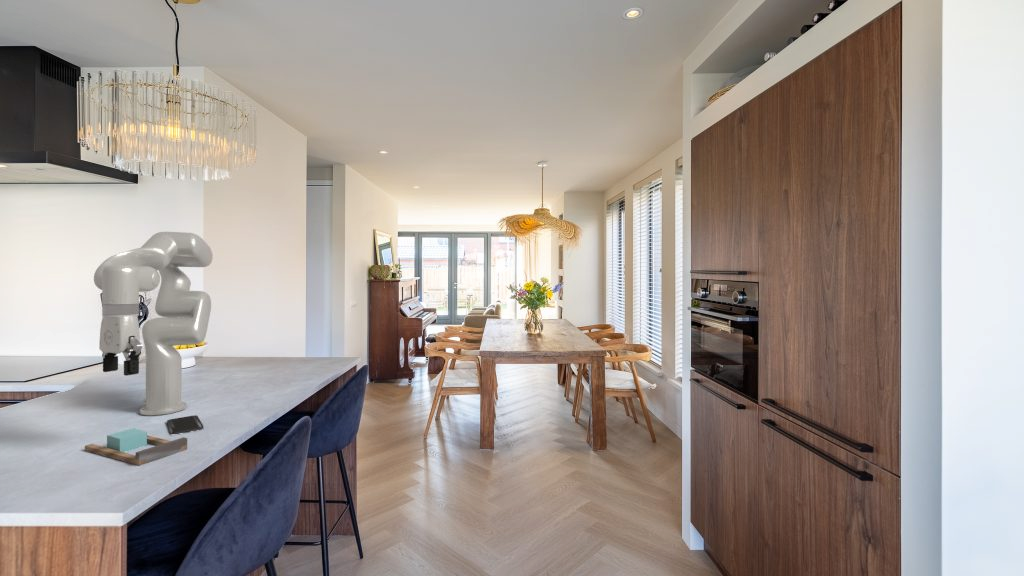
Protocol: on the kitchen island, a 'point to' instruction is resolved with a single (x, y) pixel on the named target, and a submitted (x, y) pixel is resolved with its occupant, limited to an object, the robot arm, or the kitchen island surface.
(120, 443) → the block
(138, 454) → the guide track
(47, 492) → the kitchen island surface
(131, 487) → the kitchen island surface
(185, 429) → the phone
